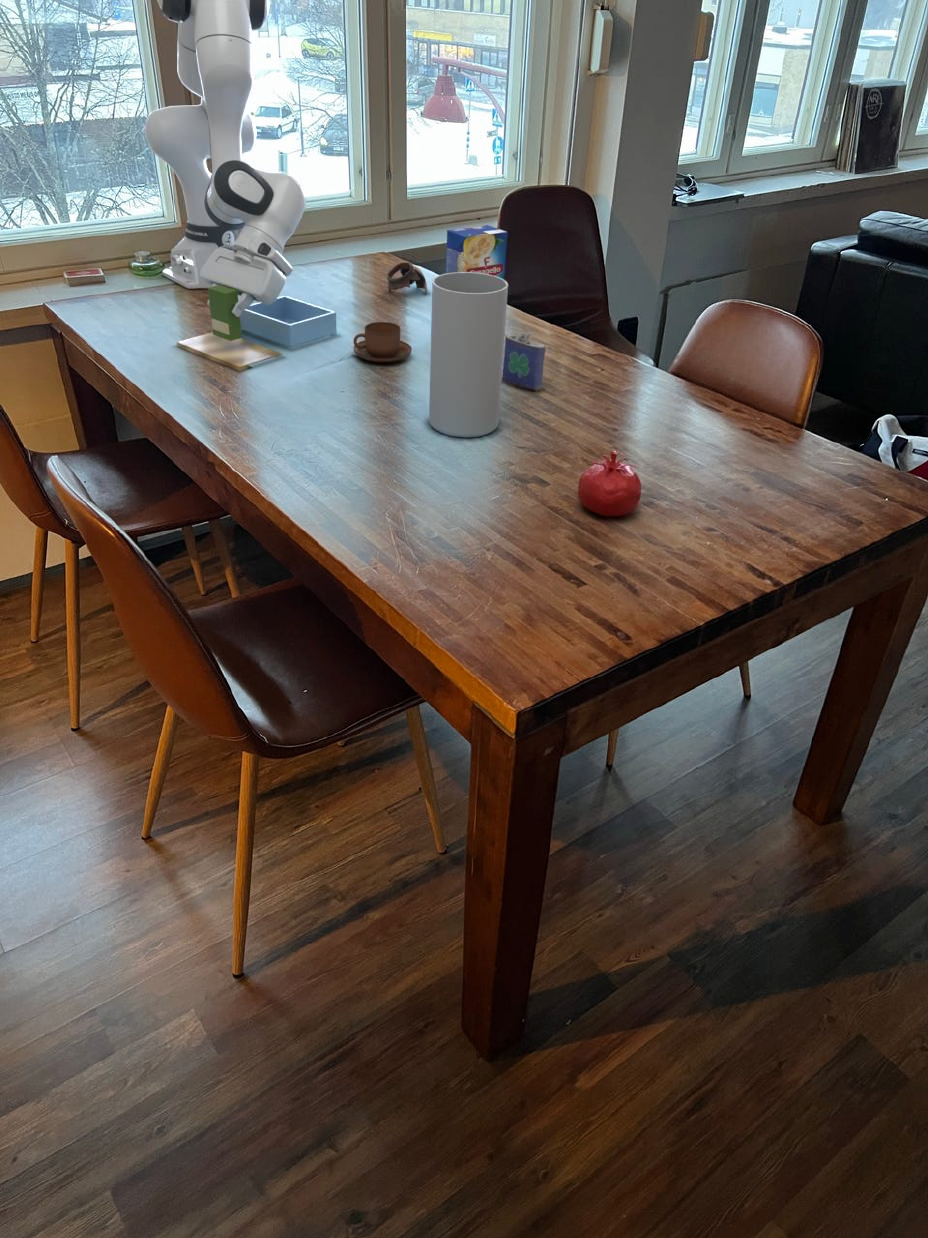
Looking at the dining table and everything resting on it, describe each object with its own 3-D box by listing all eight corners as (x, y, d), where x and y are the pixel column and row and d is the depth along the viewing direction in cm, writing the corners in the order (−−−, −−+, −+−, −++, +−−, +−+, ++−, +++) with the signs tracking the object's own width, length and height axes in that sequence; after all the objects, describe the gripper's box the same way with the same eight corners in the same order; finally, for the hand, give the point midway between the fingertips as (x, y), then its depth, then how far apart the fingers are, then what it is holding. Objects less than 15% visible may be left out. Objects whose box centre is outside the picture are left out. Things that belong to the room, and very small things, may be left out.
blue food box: (500, 334, 209) (507, 231, 196) (461, 342, 203) (466, 237, 190) (482, 326, 213) (487, 224, 200) (443, 333, 208) (446, 229, 195)
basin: (241, 332, 203) (238, 307, 200) (286, 319, 211) (285, 295, 208) (291, 350, 195) (290, 325, 192) (336, 336, 203) (336, 311, 200)
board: (177, 346, 194) (176, 341, 193) (219, 334, 201) (218, 330, 200) (240, 371, 184) (239, 366, 183) (282, 357, 191) (281, 353, 190)
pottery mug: (432, 299, 230) (418, 272, 224) (397, 314, 232) (382, 287, 226) (428, 273, 237) (414, 246, 231) (395, 288, 240) (380, 262, 234)
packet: (212, 334, 191) (207, 287, 185) (224, 331, 193) (219, 284, 187) (230, 341, 188) (225, 293, 182) (242, 337, 190) (237, 290, 184)
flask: (544, 389, 183) (548, 335, 177) (535, 393, 181) (539, 339, 175) (507, 377, 187) (510, 324, 181) (498, 381, 186) (501, 327, 179)
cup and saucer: (377, 371, 187) (376, 341, 183) (342, 354, 194) (341, 324, 191) (423, 359, 194) (423, 330, 190) (388, 343, 201) (388, 314, 197)
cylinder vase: (464, 405, 175) (470, 268, 160) (512, 426, 167) (523, 284, 153) (414, 422, 167) (416, 279, 153) (463, 445, 160) (470, 298, 146)
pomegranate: (595, 528, 138) (603, 472, 133) (563, 498, 146) (570, 443, 140) (651, 517, 142) (662, 462, 136) (617, 489, 149) (626, 435, 144)
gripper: (212, 232, 190) (179, 290, 189) (280, 251, 180) (245, 313, 179) (232, 251, 195) (200, 308, 195) (298, 271, 185) (265, 330, 184)
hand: (222, 310), depth 187 cm, fingers closed on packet, 5 cm apart
